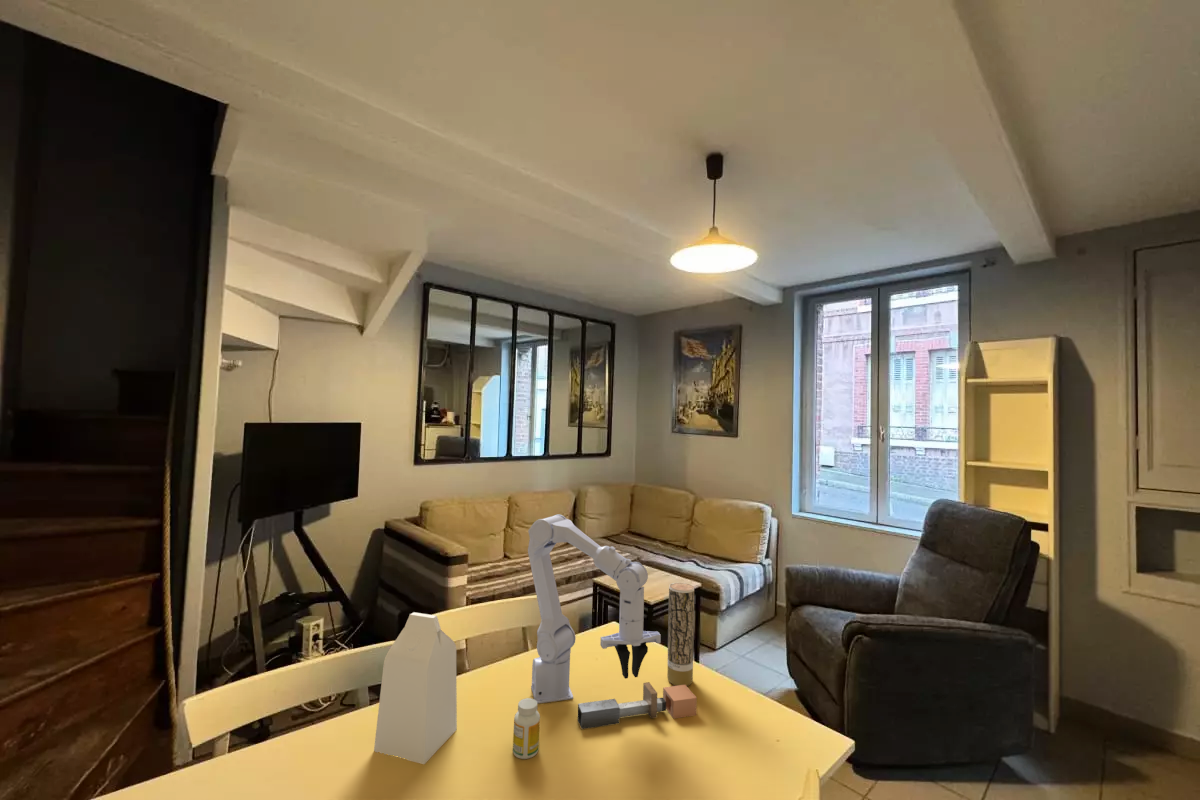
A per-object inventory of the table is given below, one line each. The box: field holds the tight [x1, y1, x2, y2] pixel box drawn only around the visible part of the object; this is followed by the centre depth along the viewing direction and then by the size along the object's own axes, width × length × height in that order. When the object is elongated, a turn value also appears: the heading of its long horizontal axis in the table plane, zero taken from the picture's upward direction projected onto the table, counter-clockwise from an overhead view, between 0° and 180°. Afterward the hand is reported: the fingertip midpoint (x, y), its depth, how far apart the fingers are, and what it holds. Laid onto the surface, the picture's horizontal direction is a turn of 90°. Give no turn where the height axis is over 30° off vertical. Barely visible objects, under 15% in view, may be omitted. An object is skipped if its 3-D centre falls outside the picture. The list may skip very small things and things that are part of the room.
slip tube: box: [618, 681, 667, 719], centre depth 112 cm, size 19×5×6 cm, turn 106°
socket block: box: [662, 685, 698, 720], centre depth 115 cm, size 6×6×4 cm
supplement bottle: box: [512, 697, 541, 760], centre depth 99 cm, size 5×5×10 cm
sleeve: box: [577, 698, 621, 730], centre depth 110 cm, size 9×4×4 cm, turn 106°
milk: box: [373, 611, 458, 765], centre depth 102 cm, size 12×12×26 cm
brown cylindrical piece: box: [666, 582, 695, 687], centre depth 129 cm, size 7×7×25 cm
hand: (629, 675), depth 112 cm, fingers closed
